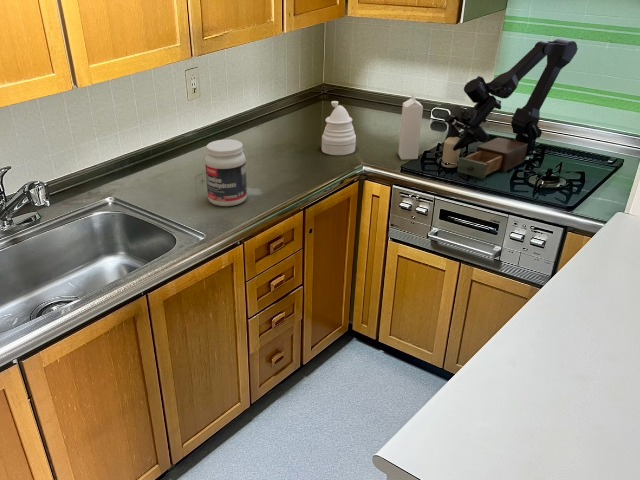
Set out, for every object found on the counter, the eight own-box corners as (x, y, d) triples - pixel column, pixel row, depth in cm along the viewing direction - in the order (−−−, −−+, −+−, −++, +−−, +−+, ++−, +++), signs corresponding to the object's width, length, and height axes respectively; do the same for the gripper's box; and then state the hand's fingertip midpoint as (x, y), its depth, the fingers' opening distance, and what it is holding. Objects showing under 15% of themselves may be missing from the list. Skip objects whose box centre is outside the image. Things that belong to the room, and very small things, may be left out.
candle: (456, 162, 223) (459, 134, 217) (459, 167, 218) (463, 139, 213) (440, 162, 223) (443, 135, 218) (442, 168, 219) (446, 140, 213)
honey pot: (318, 154, 237) (319, 106, 228) (325, 143, 248) (326, 97, 238) (352, 156, 234) (354, 107, 224) (357, 145, 244) (360, 98, 234)
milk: (401, 159, 228) (406, 98, 216) (398, 154, 233) (403, 93, 221) (418, 159, 227) (424, 97, 216) (414, 153, 233) (420, 93, 221)
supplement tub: (204, 207, 199) (200, 151, 190) (211, 192, 210) (207, 138, 200) (244, 208, 197) (242, 151, 188) (249, 192, 208) (247, 138, 199)
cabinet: (503, 172, 212) (507, 153, 209) (474, 164, 220) (477, 146, 216) (524, 162, 220) (528, 143, 216) (495, 155, 227) (498, 137, 224)
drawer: (481, 179, 206) (483, 165, 203) (455, 172, 212) (456, 158, 210) (503, 168, 213) (506, 155, 210) (477, 162, 219) (479, 148, 217)
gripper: (452, 90, 217) (421, 126, 220) (486, 102, 202) (452, 141, 205) (468, 110, 223) (437, 145, 226) (502, 123, 208) (469, 161, 211)
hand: (448, 147), depth 217 cm, fingers closed on candle, 5 cm apart
